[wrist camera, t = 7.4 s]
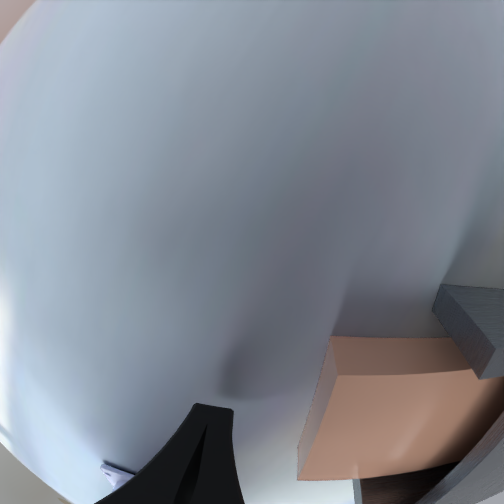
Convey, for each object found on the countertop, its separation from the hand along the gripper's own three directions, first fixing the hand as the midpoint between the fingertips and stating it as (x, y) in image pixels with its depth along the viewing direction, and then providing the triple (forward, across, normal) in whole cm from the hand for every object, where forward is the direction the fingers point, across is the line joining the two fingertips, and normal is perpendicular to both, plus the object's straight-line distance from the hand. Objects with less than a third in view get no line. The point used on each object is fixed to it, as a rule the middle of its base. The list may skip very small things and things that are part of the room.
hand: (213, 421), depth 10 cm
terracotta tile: (+2, -10, 0) cm, 10 cm away
